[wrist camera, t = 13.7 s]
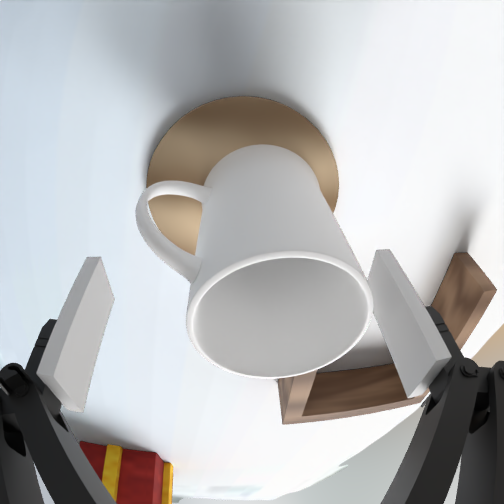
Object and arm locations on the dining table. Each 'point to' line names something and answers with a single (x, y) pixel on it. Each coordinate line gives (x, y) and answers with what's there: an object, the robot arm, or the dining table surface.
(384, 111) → the dining table surface
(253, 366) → the mug
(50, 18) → the dining table surface
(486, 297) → the cradle
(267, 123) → the coaster
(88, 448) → the gift box
